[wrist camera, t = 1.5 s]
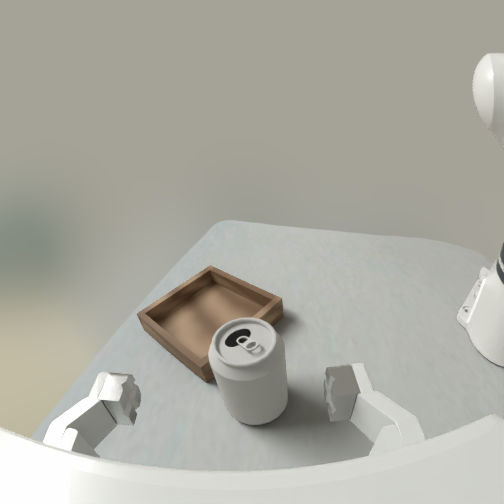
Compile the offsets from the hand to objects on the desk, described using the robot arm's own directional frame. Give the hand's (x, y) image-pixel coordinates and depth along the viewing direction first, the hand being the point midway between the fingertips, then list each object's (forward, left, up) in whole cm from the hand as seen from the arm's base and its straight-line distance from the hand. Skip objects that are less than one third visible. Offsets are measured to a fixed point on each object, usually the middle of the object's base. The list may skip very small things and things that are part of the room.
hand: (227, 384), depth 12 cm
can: (-9, -9, -23) cm, 26 cm away
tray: (-15, -24, -23) cm, 36 cm away
